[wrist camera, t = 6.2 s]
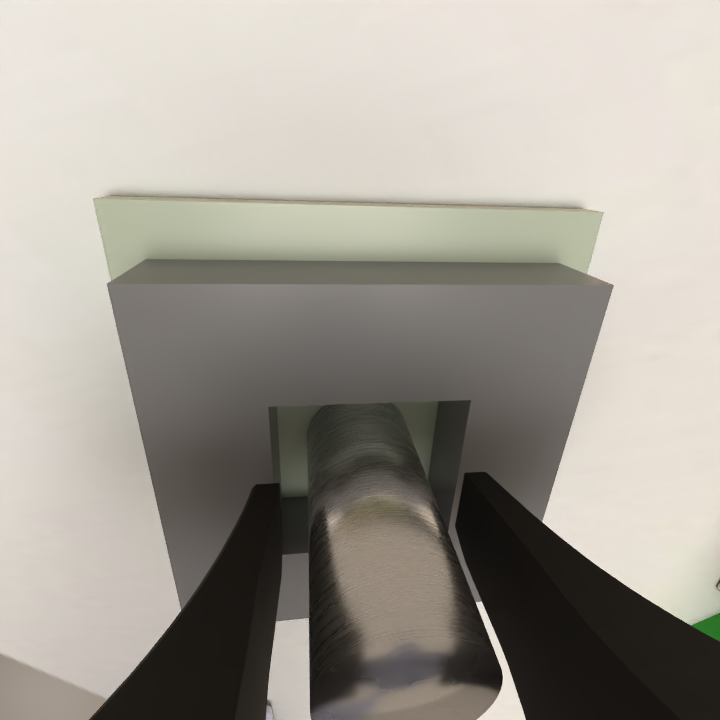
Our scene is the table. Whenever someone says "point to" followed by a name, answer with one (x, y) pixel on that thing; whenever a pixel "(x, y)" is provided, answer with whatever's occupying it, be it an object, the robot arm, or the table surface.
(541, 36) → the table surface
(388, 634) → the silver metal cylinder
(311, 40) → the table surface
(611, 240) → the table surface
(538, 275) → the dock
